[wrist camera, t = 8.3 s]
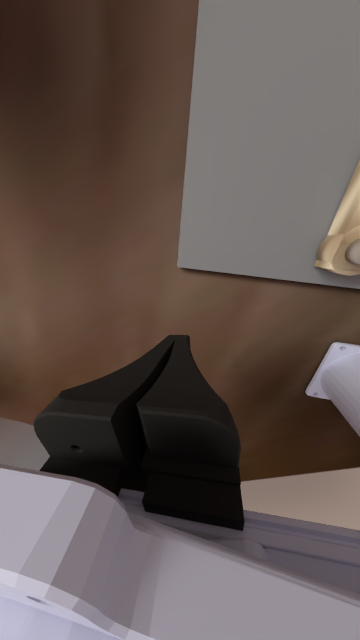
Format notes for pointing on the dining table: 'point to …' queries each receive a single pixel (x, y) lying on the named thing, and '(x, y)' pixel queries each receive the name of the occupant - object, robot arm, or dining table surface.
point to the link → (343, 234)
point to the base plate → (270, 136)
